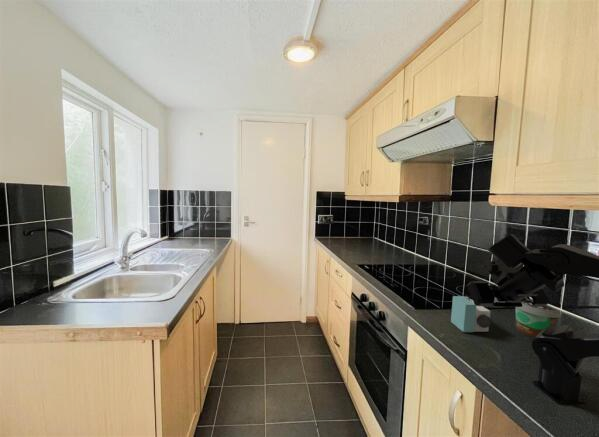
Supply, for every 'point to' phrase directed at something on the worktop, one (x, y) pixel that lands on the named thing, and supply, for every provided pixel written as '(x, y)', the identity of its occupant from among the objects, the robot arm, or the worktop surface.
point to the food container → (534, 319)
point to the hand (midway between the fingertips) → (489, 305)
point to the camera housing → (481, 318)
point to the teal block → (463, 313)
